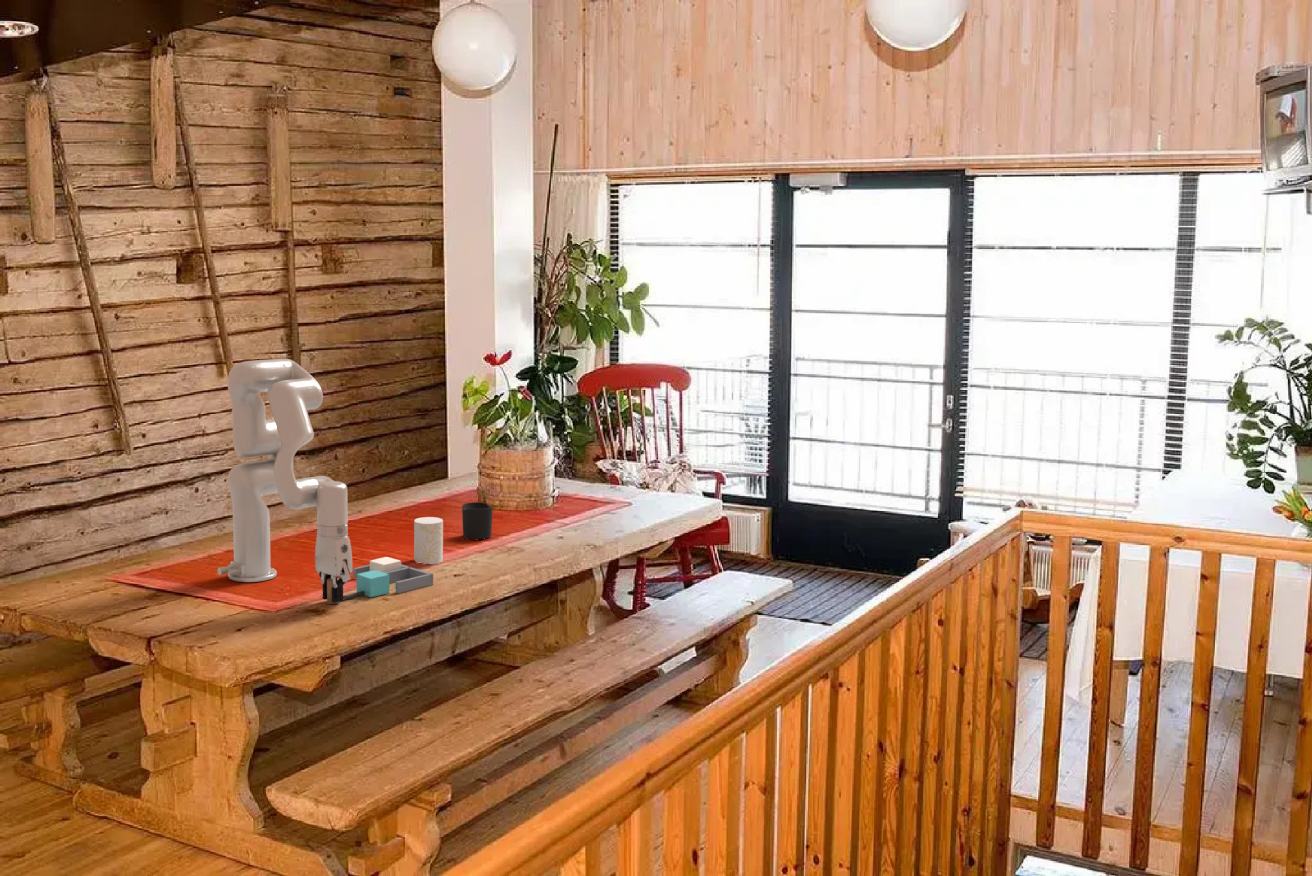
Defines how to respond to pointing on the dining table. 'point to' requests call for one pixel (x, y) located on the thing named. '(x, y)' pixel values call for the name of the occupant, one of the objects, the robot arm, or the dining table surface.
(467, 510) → the pen holder
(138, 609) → the dining table surface
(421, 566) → the dining table surface
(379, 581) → the teal block with handle
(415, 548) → the cup
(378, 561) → the off-white block
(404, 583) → the lane rack
